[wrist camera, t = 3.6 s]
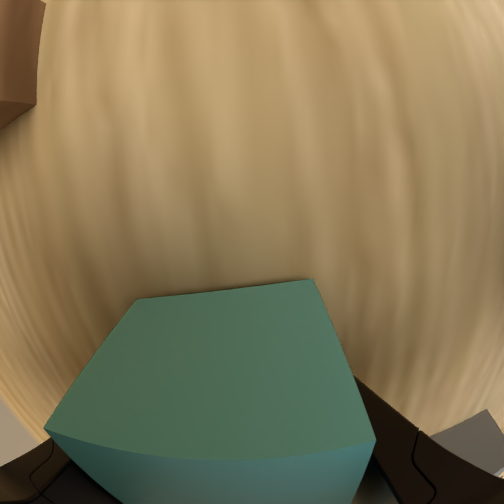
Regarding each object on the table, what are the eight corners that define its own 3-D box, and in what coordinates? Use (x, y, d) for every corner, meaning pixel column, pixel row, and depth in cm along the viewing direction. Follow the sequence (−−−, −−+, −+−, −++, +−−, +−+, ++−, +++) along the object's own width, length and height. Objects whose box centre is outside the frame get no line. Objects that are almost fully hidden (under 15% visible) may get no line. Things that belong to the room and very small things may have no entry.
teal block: (312, 278, 7) (375, 439, 3) (317, 402, 9) (339, 525, 4) (137, 299, 8) (43, 428, 3) (183, 412, 9) (154, 524, 4)
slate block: (486, 408, 11) (517, 456, 6) (461, 446, 12) (482, 490, 7) (427, 436, 11) (454, 497, 6) (407, 470, 13) (424, 521, 8)
